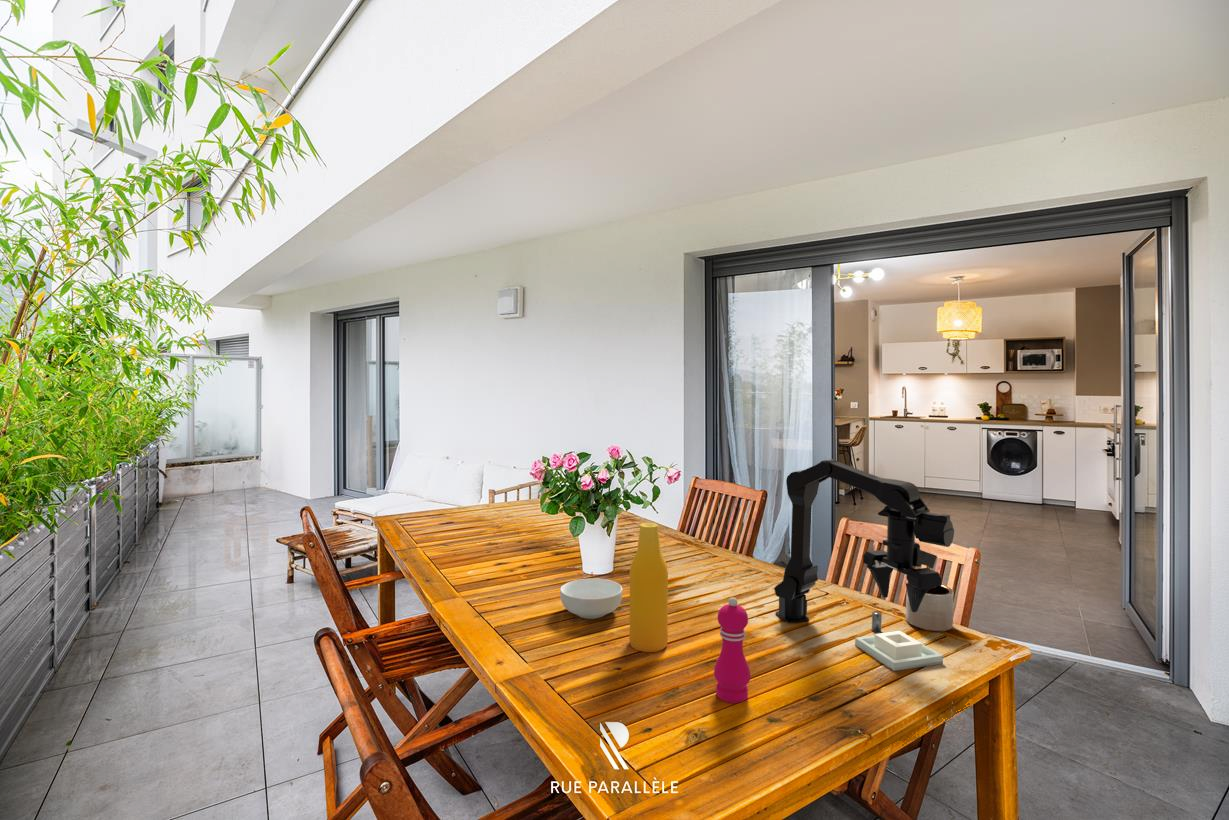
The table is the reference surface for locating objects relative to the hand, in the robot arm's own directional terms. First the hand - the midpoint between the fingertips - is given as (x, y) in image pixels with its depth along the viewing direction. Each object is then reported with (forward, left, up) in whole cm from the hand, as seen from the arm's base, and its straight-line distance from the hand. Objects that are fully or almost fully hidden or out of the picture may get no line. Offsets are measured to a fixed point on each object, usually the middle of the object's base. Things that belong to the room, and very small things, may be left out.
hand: (899, 604), depth 136 cm
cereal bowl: (-63, +42, -12) cm, 77 cm away
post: (+4, +12, -12) cm, 17 cm away
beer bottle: (-54, +20, -12) cm, 59 cm away
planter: (+20, +12, -12) cm, 26 cm away
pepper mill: (-45, -6, -12) cm, 47 cm away
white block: (0, 0, -11) cm, 11 cm away
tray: (0, 0, -12) cm, 12 cm away
